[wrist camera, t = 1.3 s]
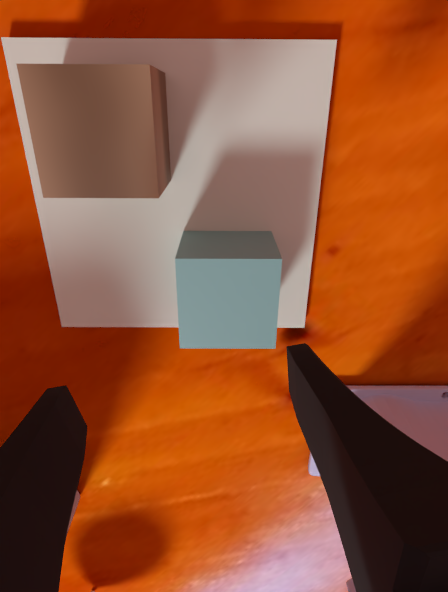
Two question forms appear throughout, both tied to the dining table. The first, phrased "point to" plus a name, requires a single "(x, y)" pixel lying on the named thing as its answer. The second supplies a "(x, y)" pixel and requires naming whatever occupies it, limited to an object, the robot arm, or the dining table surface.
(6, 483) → the robot arm
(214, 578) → the dining table surface
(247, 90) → the mat
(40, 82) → the walnut block
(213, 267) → the teal block
